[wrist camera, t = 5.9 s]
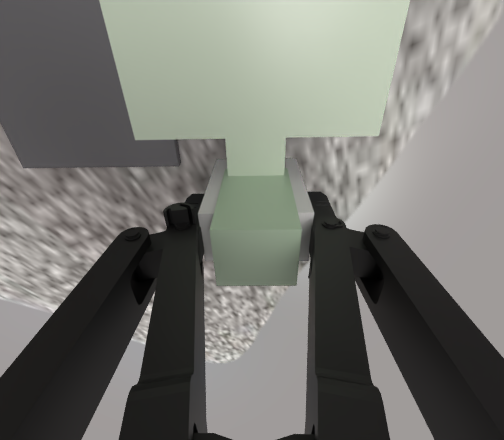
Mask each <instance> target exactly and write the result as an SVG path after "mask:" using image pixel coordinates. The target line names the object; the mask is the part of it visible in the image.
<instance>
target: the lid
mask: <svg viewBox="0 0 504 440" xmlns="http://www.w3.org/2000/svg"><path fill="white" fill-rule="evenodd" d="M99 2H100V6H101V10H102V13H103V17H104V21H105V25H106V29H107V33H108V37H109V41H110V44H111V48H112V52H113V56H114V60H115V64H116V68H117V72H118V75H119V79H120V83H121V87H122V91H123V95H124V99H125V103H126V106H127V110H128V114H129V118H130V122H131V126H132V130H133V134H134V137H135V140H176V139H225V143H226V157H227V169H225V172H224V175H223V179H222V183H221V187H220V191H219V195H218V199H217V203H216V207H215V211H214V215H213V218H212V222H211V226H210V238H211V246H212V253H213V261H214V268H215V276H216V284H217V286H295V285H296V284H297V275H298V264H299V254H300V244H301V233H302V228H301V224H300V220H299V215H298V211H297V207H296V203H295V199H294V194H293V190H292V186H291V182H290V178H289V174H288V169H287V168H285V148H286V138H295V137H355V136H379V132H380V128H381V123H382V119H383V115H384V111H385V106H386V102H387V98H388V93H389V89H390V85H391V81H392V76H393V72H394V68H395V63H396V59H397V55H398V50H399V46H400V42H401V38H402V33H403V29H404V25H405V20H406V16H407V12H408V7H409V3H410V0H99Z"/></svg>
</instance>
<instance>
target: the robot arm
mask: <svg viewBox="0 0 504 440" xmlns="http://www.w3.org/2000/svg"><path fill="white" fill-rule="evenodd" d="M285 168H287V169H288V174H289V178H290V182H291V186H292V190H293V194H294V199H295V203H296V207H297V211H298V215H299V220H300V224H301V228H302V233H301V244H300V254H299V261H308V260H309V253H310V257H311V261H310V269H309V276H308V278H309V315H308V353H307V392H306V422H305V434H293V435H290V436H287V437H283V438H280V439H277V440H390V437H389V432H388V427H387V422H386V416H385V411H384V405H383V401H382V397H381V393H380V391H379V389H378V388H377V387H375V386H374V385H373V383H372V380H371V375H370V369H369V364H368V357H367V352H366V345H365V339H364V333H363V328H362V321H361V315H360V309H359V303H358V296H357V291H356V285H355V281H356V283H357V285H358V287H359V289H360V291H361V293H362V295H363V297H364V299H365V301H366V303H367V305H368V307H369V309H370V311H371V313H372V315H373V317H374V319H375V321H376V323H377V325H378V327H379V329H380V331H381V333H382V335H383V337H384V339H385V341H386V343H387V345H388V347H389V349H390V351H391V353H392V355H393V357H394V359H395V361H396V363H397V365H398V367H399V369H400V371H401V373H402V375H403V377H404V379H405V381H406V383H407V385H408V387H409V389H410V391H411V393H412V395H413V397H414V399H415V401H416V403H417V405H418V407H419V409H420V411H421V413H422V415H423V417H424V419H425V421H426V423H427V425H428V427H429V429H430V431H431V433H432V435H433V437H434V440H504V358H503V357H502V356H501V355H500V354H499V352H498V351H497V350H496V349H495V348H494V346H493V345H492V344H491V343H490V342H489V341H488V339H487V338H486V337H485V336H484V335H483V334H482V333H481V331H480V330H479V329H478V328H477V326H476V325H475V324H474V323H473V322H472V320H471V319H470V318H469V317H468V316H467V315H466V313H465V312H464V311H463V310H462V309H461V308H460V306H459V305H458V304H457V303H456V302H455V300H454V299H453V298H452V297H451V296H450V294H449V293H448V292H447V291H446V290H445V289H444V287H443V286H442V285H441V284H440V283H439V282H438V280H437V279H436V278H435V277H434V276H433V274H432V273H431V272H430V271H429V270H428V268H427V267H426V266H425V265H424V264H423V263H422V261H421V260H420V259H419V258H418V257H417V256H416V254H415V253H414V252H413V251H412V250H411V248H410V247H409V246H408V245H407V244H406V242H405V241H404V240H403V239H402V238H401V237H400V235H399V234H398V233H397V232H396V231H395V230H393V229H392V228H390V227H388V226H385V225H376V224H374V225H369V226H368V227H366V229H365V232H360V231H355V230H350V229H348V228H346V225H345V223H344V222H343V221H342V220H340V219H338V218H336V216H335V214H334V212H333V209H332V207H331V205H330V203H329V200H328V198H327V196H326V195H324V194H323V193H322V192H307V190H306V187H305V184H304V181H303V178H302V175H301V172H300V169H299V166H298V163H297V160H296V158H285ZM225 169H227V159H217V160H216V163H215V166H214V169H213V172H212V175H211V177H210V180H209V183H208V186H207V189H206V192H205V194H192V195H190V196H189V197H188V198H187V199H186V201H185V203H176V204H172V205H170V206H168V207H167V208H165V209H164V211H163V213H164V217H165V221H166V226H167V229H166V231H164V232H160V233H156V234H151V235H149V232H148V230H147V229H145V228H142V227H134V228H130V229H127V230H125V231H123V232H121V233H120V234H119V235H118V236H117V237H116V239H115V240H114V241H113V242H112V243H111V245H110V246H109V247H108V248H107V249H106V251H105V252H104V253H103V254H102V256H101V257H100V258H99V259H98V260H97V262H96V263H95V264H94V265H93V266H92V268H91V269H90V270H89V271H88V272H87V274H86V275H85V276H84V277H83V278H82V280H81V281H80V282H79V283H78V284H77V286H76V287H75V288H74V289H73V291H72V292H71V293H70V294H69V295H68V297H67V298H66V299H65V300H64V301H63V303H62V304H61V305H60V306H59V307H58V309H57V310H56V311H55V312H54V313H53V315H52V316H51V317H50V318H49V320H48V321H47V322H46V323H45V324H44V326H43V327H42V328H41V329H40V330H39V332H38V333H37V334H36V335H35V336H34V338H33V339H32V340H31V341H30V342H29V344H28V345H27V346H26V347H25V348H24V350H23V351H22V352H21V353H20V355H19V356H18V357H17V358H16V359H15V361H14V362H13V363H12V364H11V366H10V367H9V368H8V369H7V370H6V371H5V373H4V374H3V375H2V376H1V377H0V440H81V439H82V437H83V435H84V433H85V431H86V429H87V427H88V425H89V423H90V421H91V419H92V417H93V415H94V413H95V411H96V409H97V407H98V405H99V403H100V401H101V399H102V397H103V395H104V393H105V391H106V389H107V387H108V385H109V383H110V380H111V379H112V377H113V375H114V373H115V371H116V369H117V366H118V364H119V362H120V360H121V358H122V356H123V354H124V352H125V350H126V348H127V346H128V344H129V342H130V340H131V338H132V336H133V334H134V332H135V330H136V328H137V326H138V324H139V322H140V320H141V318H142V316H143V314H144V312H145V310H146V308H147V306H148V304H149V302H150V300H151V298H152V296H153V294H154V292H155V296H154V302H153V307H152V313H151V318H150V324H149V329H148V335H147V340H146V346H145V351H144V357H143V363H142V368H141V374H140V378H139V381H138V383H137V384H136V385H134V386H132V388H131V390H130V392H129V395H128V398H127V402H126V407H125V412H124V417H123V421H122V426H121V431H120V436H119V440H232V439H229V438H226V437H223V436H220V435H217V434H214V433H207V424H206V392H205V390H206V387H205V325H204V267H203V261H202V259H203V255H204V257H205V261H213V253H212V246H211V238H210V226H211V222H212V218H213V215H214V211H215V207H216V203H217V199H218V195H219V191H220V187H221V183H222V179H223V175H224V172H225Z"/></svg>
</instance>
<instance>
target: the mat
mask: <svg viewBox="0 0 504 440" xmlns="http://www.w3.org/2000/svg"><path fill="white" fill-rule="evenodd" d="M0 123H1V125H2V127H3V129H4V131H5V133H6V135H7V137H8V139H9V141H10V143H11V145H12V147H13V148H14V150H15V152H16V154H17V156H18V158H19V160H20V162H21V164H22V166H23V168H70V167H147V166H179V165H180V163H181V160H180V154H179V148H178V142H177V139H176V140H135V137H134V134H133V130H132V126H131V122H130V118H129V114H128V110H127V106H126V103H125V99H124V95H123V91H122V87H121V83H120V79H119V75H118V72H117V68H116V64H115V60H114V56H113V52H112V48H111V44H110V41H109V37H108V33H107V29H106V25H105V21H104V17H103V13H102V10H101V6H100V2H99V0H0Z"/></svg>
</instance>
